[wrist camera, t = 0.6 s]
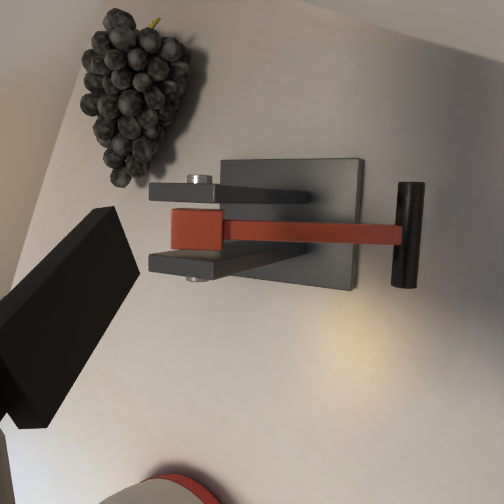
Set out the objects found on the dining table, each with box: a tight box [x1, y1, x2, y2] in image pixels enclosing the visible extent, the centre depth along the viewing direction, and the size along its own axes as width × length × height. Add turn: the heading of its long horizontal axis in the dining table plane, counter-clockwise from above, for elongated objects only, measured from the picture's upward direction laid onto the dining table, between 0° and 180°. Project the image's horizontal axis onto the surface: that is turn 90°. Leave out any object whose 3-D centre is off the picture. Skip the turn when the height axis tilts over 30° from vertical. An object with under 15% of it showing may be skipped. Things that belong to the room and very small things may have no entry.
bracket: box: [149, 158, 363, 291], centre depth 30 cm, size 12×10×15 cm
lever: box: [171, 182, 425, 289], centre depth 25 cm, size 14×6×2 cm, turn 88°
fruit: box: [80, 8, 191, 188], centre depth 38 cm, size 9×8×15 cm
